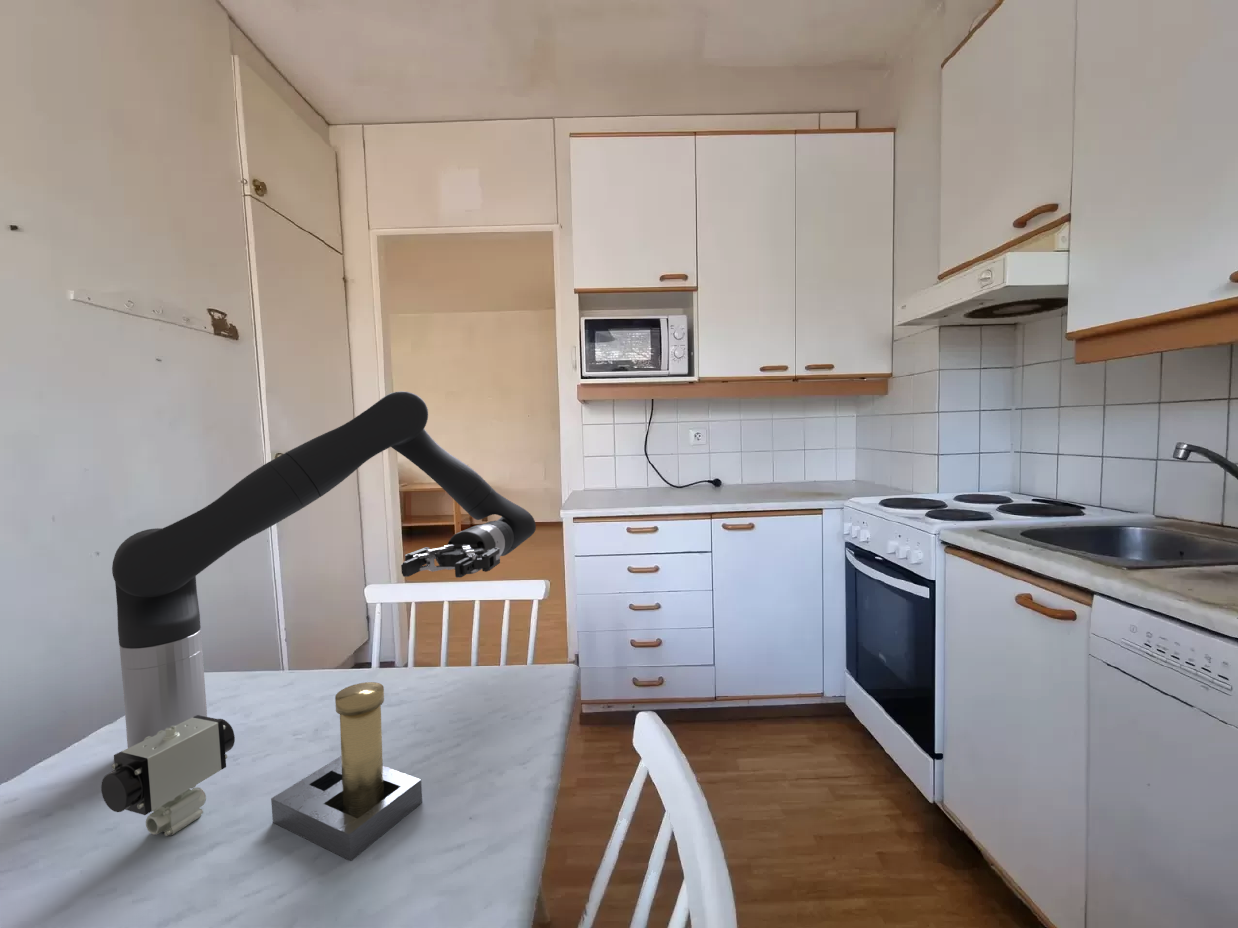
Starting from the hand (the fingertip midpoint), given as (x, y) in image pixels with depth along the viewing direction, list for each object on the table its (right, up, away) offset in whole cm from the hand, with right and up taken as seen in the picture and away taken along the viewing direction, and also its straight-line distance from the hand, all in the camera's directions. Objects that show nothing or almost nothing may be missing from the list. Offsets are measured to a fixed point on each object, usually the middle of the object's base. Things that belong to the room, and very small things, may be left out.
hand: (430, 570), depth 78 cm
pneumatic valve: (-26, -28, -15) cm, 41 cm away
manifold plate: (-5, -27, -14) cm, 31 cm away
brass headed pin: (-3, -26, -15) cm, 30 cm away
